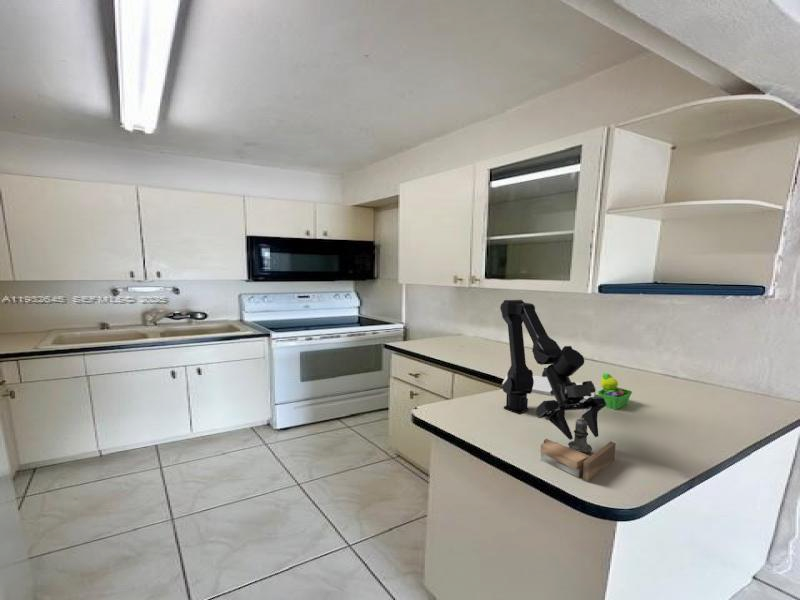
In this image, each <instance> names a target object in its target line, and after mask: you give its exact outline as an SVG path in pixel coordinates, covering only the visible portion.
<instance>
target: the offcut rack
mask: <svg viewBox="0 0 800 600" xmlns="http://www.w3.org/2000/svg"><path fill="white" fill-rule="evenodd" d="M548 441H552V442H554V443H556V444H559V445H561V446H563V447H565V448H567V449H570V450H572V451H574V452H576V453H578V454H580V455H583V456H585V457H586V460H585V461H584V464H583V475H582V481H584V482H586V483H589V482H590V481H591V480H593V478H595V477H596V476H598V474H599V473H601V472H602V471H603V470H604V469H606V468H607V467H608V466H609V465H610V464H612V462H614V461H615V457H616V456H615V455H616V442H614V441H609V442H608V443H606V444H605V445H604V446H603V447H601V448H599V450H597V451H596V452H594V453H593V454H592V455H586V454H584V453H581V452H579V451H576V450H574V449H571V448H569V446H566V445H564V444H562V443H561V444H560V443H558V442H556V441H553V440H551V439H548V438H545V439H544V440H543V444H544V443H546V442H548Z"/></svg>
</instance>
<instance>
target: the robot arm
mask: <svg viewBox="0 0 800 600" xmlns="http://www.w3.org/2000/svg"><path fill="white" fill-rule="evenodd" d="M500 312H501V316H502V319H503V320H504V322H505V323H506V325H507V331H508V332H507V333H508V343H509V352H510V353H509V355H510V365H511V366H510V367H509V370H508V371H507V373H506V375H507V380H506V381H505V383H504V384H503V385H502V384H501V385H502V386H503V387H502V391H503V392H504V393H505V394H506V403H505V404H506V405H505V406H503V409H505V410H507V411H509V412H513V413H515V414H522V413H524V412H526V411H528V410H529V409H530V408H529V407H528V405H529V404H528V403H529V399H528V395H530V394H532V392H531V391H532V388H533V384H534V380H533V374H534V372H533V371H532V369H530V368H529V367H528V366H527V361H526V354H525V352H526V351H525V341H524V331H523V324H524V326H525V328H526V331H527V333H528V335H529V337H530V339H531V341H532V343H533V346H532V349H531V350H532V354H533V358H534V360H535V362H536V363H537V364H538V365H540V366H542V365H543V366H544V365H545V366H546V365H548V366H547V367H544V368H543V370H542V374H541V377H546V378H547V379H548V381H549V383H550V386H551V388H552V391H551V392H550V393H551V395H555V396H554V398H555V399H551V400H543V401H542V402H541V403H540V404H538V406H537V407H536V409H535V412H536V416H537V418H538V419H542V418H543V419H545V420H546V421H549V422H550V423H551V424H553V425H554V426H555V427H556V428H557V429H558V430H559V431H560V432H561V433H562V434H563V435H564V436H565V437H566V438H567V439H569V440H570V441H571V440H574V438H573V435H572V434H573V433H572V432H571V428H570V427H569V425H568V422H567V419H566V418H565V417H566V415H565V412H566V411H580V410H582V412H583V414H582V415H581V417H583V419H584V420H585V421H586V422H587V428H588V429H589V431H590V432H591V433H592V434H593V436H594V438H597V437H599V428H598V427H599V426H598V414H599V412H600V411H601V410H603V408H605V406H606V405H607V404H606V402H605V400H604V398H602V397H600V396H599V395H598V396H595V397H589V398H588V399H587V400H586V401H584V402H583V401H580V400H583V399H584V396H592V395H591V393H594V392H595V393H596V390H597V389H596V390H595V386H594V385H595V384H594V383H593V381H591V380H588V381H587V380H586V381H582V385H576V383H575V382H576V381H572V380H571V378H570V377H571V376H573V375H574V374H575V373H576V372H577V371H578V370H579V369H580V368H581V367H583V366H584V364H585V358H584V355H583V354H581V353H580V352H579V351H578V350H577V349H573V347H572V346H571V345H565V346H563V348H562V349H561V347H560V346H559V344H558V342H557V341H555V340H554V339H553V338H551V337H550V336H549V335H548V333H547V331H546V329H545V327H544V326H543V323H542V322H541V319H540V317H539V315H538V314H537V311H536V305H534V304H533V303H530V302H524V301H523V300H522V299H504V300H503V302H502V303H501V304H500Z"/></svg>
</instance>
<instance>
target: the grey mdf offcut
mask: <svg viewBox="0 0 800 600" xmlns="http://www.w3.org/2000/svg"><path fill="white" fill-rule="evenodd" d="M541 460H543V461H545V462H547V463H546V464H548V463H549V464H548V465H550V464H551V465H550V466H552V465H553V467H554V466H555V468H556V467H557V469H559V468H560V469H559V470H561V469H562V470H561V471H563V470H564V471H563V472H565V471H566V472H565V473H567V472H568V473H567V474H570V475H572V476H573V477H576V478H578V477H579V478H581V477H582V476H583V467H581V468H579V469H578V470H576V469H574V468H572V467H570V466H568V465H566V464H563V463H561V462H559V461H557V460H555V459H553V458H551V457H549V456H547V455H545V454H543V453H541V452H540V461H541ZM543 461H542V462H543ZM545 462H544V463H545ZM581 475H582V476H581Z"/></svg>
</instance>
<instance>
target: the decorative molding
mask: <svg viewBox="0 0 800 600" xmlns="http://www.w3.org/2000/svg"><path fill="white" fill-rule="evenodd" d="M506 380H507V374H506V375H505V377H504V379H503V381H502V383H501V385H503V384H504V383H505V381H506ZM533 380H534V384H533V388H532V391H531V393H534V394H540V395H545V396H550V397H555V395H551V393H550V392H551V391H552V388H551V386H550V383H549V381H548V379H547V377H542V376H539V375H533ZM574 382H575V383H576V385H582V383H583V382H582V383H581V382H576V381H574ZM594 386H595V390H597V389H596V387H597V385H596V384H594ZM502 388H503V386H502ZM591 395H592V396H584V399H583V400H580V402H584V401H586V400H587V399H588V398H589V397H596V391H595V392H594V393H591Z"/></svg>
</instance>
